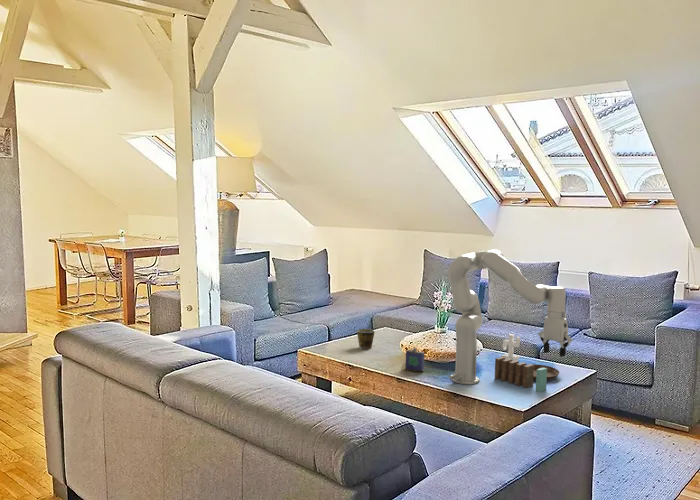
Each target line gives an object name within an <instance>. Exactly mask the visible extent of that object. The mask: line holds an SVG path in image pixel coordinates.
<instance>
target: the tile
mask: <svg viewBox="0 0 700 500" xmlns="http://www.w3.org/2000/svg"><path fill="white" fill-rule="evenodd" d="M547 382H548V381H547V368H539V369H537V375H536V381H535V392H538V393H541V392H543V391H547Z"/></svg>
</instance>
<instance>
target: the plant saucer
mask: <svg viewBox="0 0 700 500" xmlns="http://www.w3.org/2000/svg"><path fill="white" fill-rule="evenodd" d="M526 365H528V364H527V363H526ZM532 365H534V373H533V382H534V381H535V382H536V375H537V369H539V368H547V382H548V381H549V382H550V381H553V380H554V379H557V377H558V376H559V375H560V370H559V369H557V368H555V367H552V366H548V365H544V364H536V363H535V364H534V363H533V364H532Z"/></svg>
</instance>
